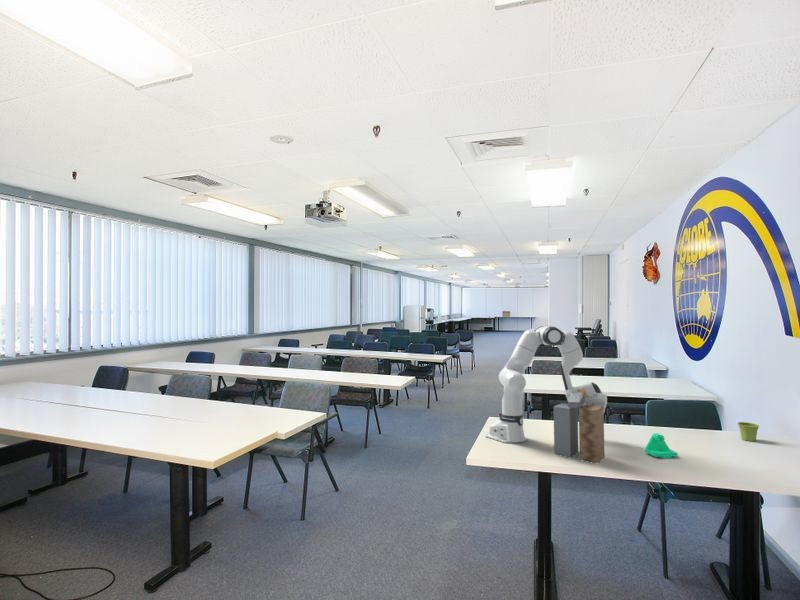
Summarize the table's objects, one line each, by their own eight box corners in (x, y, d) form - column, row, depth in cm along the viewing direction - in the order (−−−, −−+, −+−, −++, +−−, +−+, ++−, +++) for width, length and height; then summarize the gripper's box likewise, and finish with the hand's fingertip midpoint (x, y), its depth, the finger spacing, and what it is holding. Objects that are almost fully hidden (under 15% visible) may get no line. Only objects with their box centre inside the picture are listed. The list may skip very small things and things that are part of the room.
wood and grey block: (568, 407, 209) (566, 399, 209) (577, 393, 224) (576, 384, 224) (581, 407, 205) (579, 399, 205) (589, 392, 221) (588, 384, 220)
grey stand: (554, 454, 213) (553, 406, 214) (562, 448, 221) (562, 402, 222) (570, 457, 208) (569, 408, 208) (578, 452, 216) (577, 405, 216)
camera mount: (655, 459, 205) (654, 437, 206) (645, 453, 213) (644, 433, 213) (678, 458, 206) (678, 437, 207) (667, 453, 214) (666, 432, 214)
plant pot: (753, 438, 237) (753, 422, 238) (763, 443, 228) (763, 427, 228) (734, 437, 240) (734, 421, 240) (743, 442, 231) (743, 426, 231)
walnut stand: (579, 460, 205) (578, 408, 205) (587, 454, 213) (586, 404, 213) (597, 463, 199) (596, 410, 200) (604, 457, 207) (603, 406, 208)
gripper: (571, 392, 237) (562, 383, 228) (610, 397, 223) (602, 387, 214) (569, 403, 234) (560, 394, 226) (608, 409, 221) (601, 399, 212)
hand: (581, 391), depth 220 cm, fingers closed on wood and grey block, 3 cm apart
